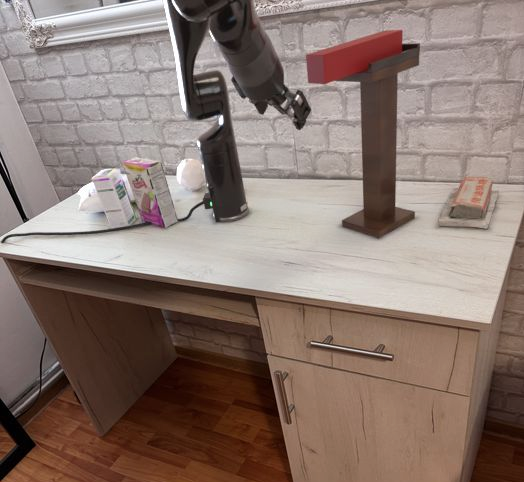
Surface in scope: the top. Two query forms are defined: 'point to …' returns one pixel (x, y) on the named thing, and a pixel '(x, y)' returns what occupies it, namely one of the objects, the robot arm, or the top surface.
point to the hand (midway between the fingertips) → (282, 117)
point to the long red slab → (352, 56)
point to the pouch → (91, 199)
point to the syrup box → (114, 197)
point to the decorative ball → (190, 174)
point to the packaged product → (470, 204)
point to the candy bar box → (151, 191)
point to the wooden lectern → (380, 143)
